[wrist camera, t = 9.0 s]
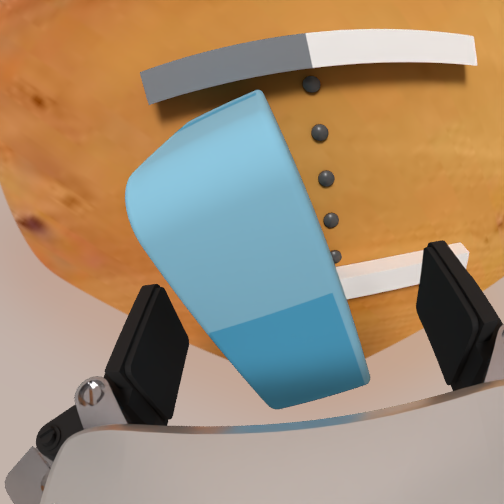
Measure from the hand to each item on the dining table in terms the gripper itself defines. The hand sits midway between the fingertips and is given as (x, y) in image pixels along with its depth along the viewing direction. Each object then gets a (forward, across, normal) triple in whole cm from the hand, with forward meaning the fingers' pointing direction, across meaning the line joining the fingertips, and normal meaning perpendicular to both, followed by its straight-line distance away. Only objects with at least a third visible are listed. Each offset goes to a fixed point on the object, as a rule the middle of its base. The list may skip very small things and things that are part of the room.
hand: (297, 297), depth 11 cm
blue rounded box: (+11, +1, 0) cm, 11 cm away
